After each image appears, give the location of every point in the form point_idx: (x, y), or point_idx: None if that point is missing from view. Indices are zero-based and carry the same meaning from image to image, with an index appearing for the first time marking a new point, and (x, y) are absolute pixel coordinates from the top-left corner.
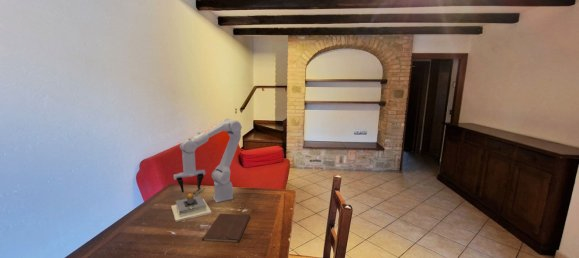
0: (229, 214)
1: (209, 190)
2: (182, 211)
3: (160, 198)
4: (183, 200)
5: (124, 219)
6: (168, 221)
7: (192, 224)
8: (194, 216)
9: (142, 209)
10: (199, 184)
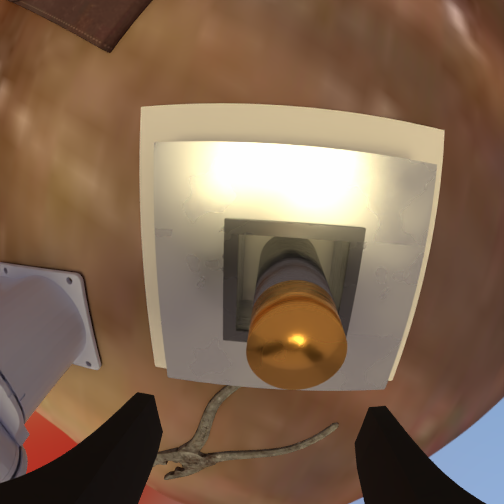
0: (59, 16)
1: None
2: (405, 159)
3: None
4: None
5: None
6: (469, 179)
7: (333, 19)
8: (295, 106)
9: (486, 401)
10: (105, 440)
